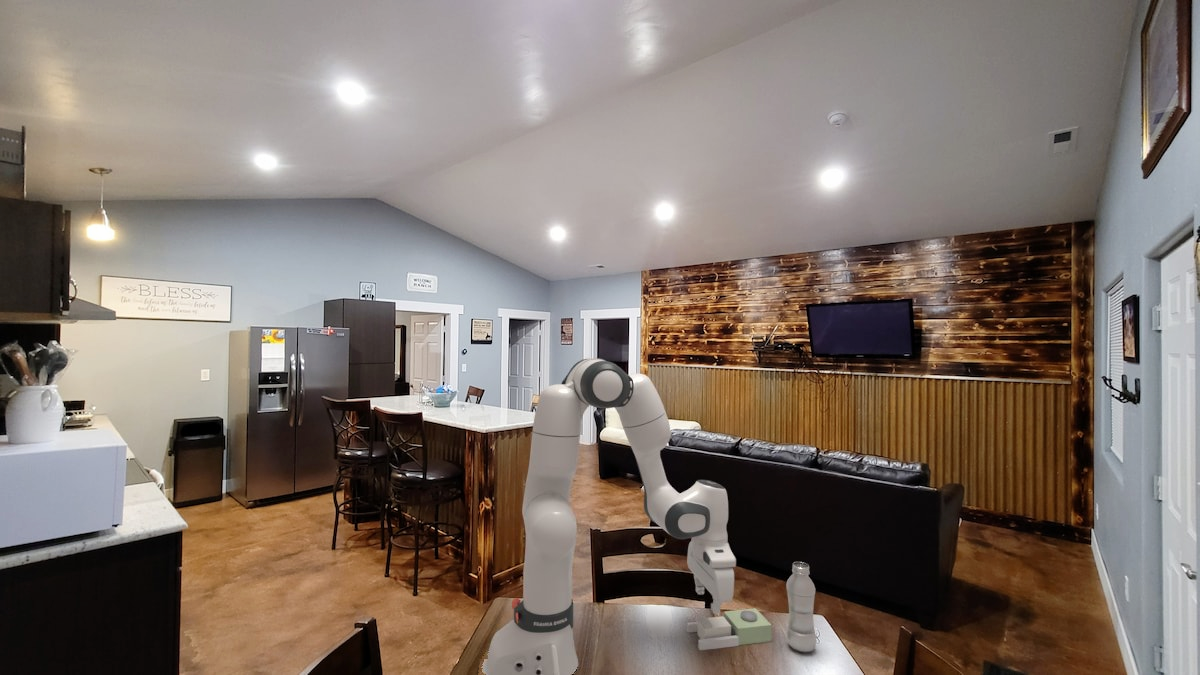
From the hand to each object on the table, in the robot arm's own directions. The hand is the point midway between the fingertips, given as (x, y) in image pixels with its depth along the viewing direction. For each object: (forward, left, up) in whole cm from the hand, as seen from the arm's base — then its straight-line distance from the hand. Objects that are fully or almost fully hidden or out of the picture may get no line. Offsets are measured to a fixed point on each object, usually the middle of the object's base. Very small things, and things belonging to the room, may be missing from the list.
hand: (707, 602), depth 124 cm
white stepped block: (+2, 0, -9) cm, 9 cm away
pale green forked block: (+6, 0, -9) cm, 11 cm away
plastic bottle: (+21, -8, -9) cm, 24 cm away
